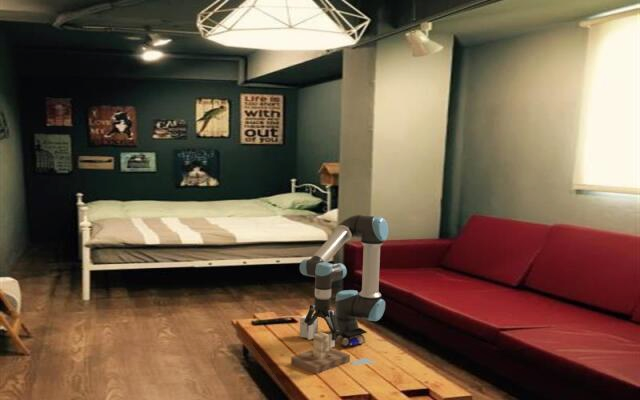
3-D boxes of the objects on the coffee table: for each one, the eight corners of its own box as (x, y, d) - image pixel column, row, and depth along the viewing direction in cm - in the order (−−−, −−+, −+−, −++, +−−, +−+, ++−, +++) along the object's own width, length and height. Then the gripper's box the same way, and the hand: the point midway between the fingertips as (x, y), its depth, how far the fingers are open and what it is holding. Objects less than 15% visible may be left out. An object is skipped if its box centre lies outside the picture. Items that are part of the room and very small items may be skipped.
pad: (363, 358, 273) (363, 357, 273) (380, 365, 266) (380, 363, 266) (349, 364, 266) (349, 363, 266) (366, 370, 259) (366, 369, 259)
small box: (317, 335, 302) (318, 316, 301) (313, 339, 297) (314, 319, 296) (303, 333, 305) (304, 314, 304) (299, 337, 300) (300, 317, 299)
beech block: (320, 361, 268) (321, 332, 267) (328, 364, 265) (329, 334, 263) (312, 364, 265) (313, 334, 263) (320, 367, 261) (321, 337, 260)
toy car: (344, 352, 283) (368, 344, 292) (343, 338, 282) (367, 329, 290) (336, 348, 289) (359, 340, 297) (335, 334, 288) (358, 326, 296)
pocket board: (324, 353, 278) (324, 345, 278) (349, 363, 267) (349, 354, 267) (291, 365, 262) (291, 356, 262) (316, 376, 251) (316, 367, 251)
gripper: (297, 292, 267) (296, 337, 269) (337, 304, 250) (335, 352, 252) (309, 290, 273) (307, 334, 275) (349, 301, 255) (347, 348, 258)
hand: (321, 342), depth 263 cm, fingers open, 13 cm apart
